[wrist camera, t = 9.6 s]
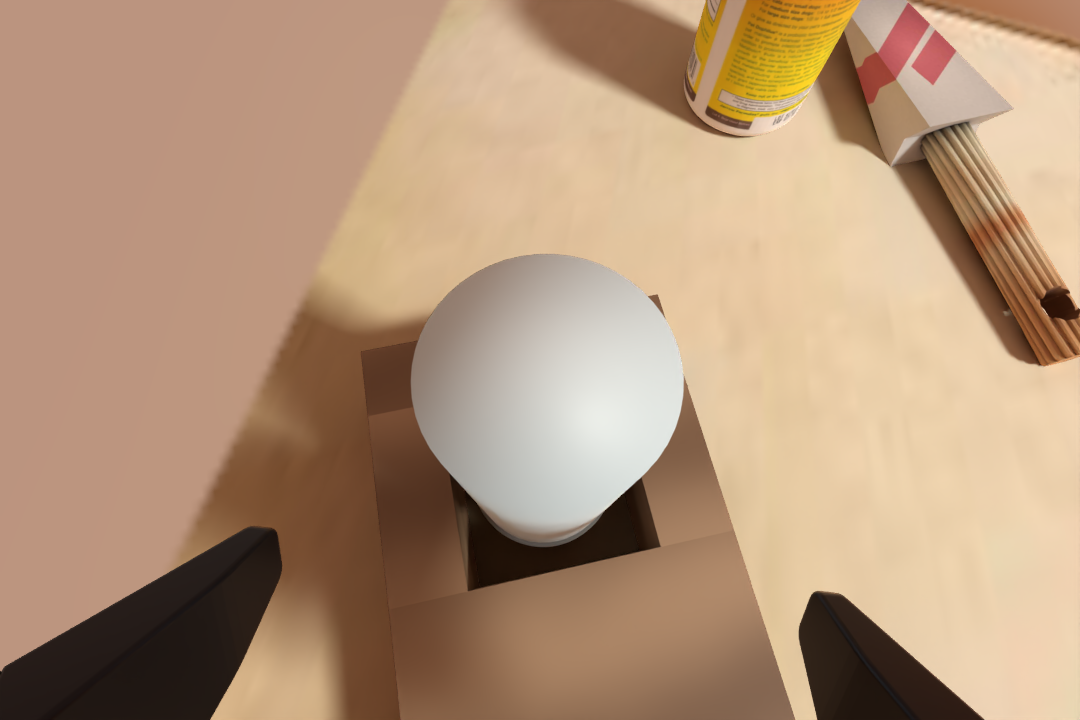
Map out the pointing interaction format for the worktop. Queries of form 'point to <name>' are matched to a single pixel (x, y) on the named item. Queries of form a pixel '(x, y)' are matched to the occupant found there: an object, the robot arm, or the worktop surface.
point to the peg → (546, 392)
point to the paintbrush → (959, 159)
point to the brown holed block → (566, 594)
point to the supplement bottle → (760, 60)
